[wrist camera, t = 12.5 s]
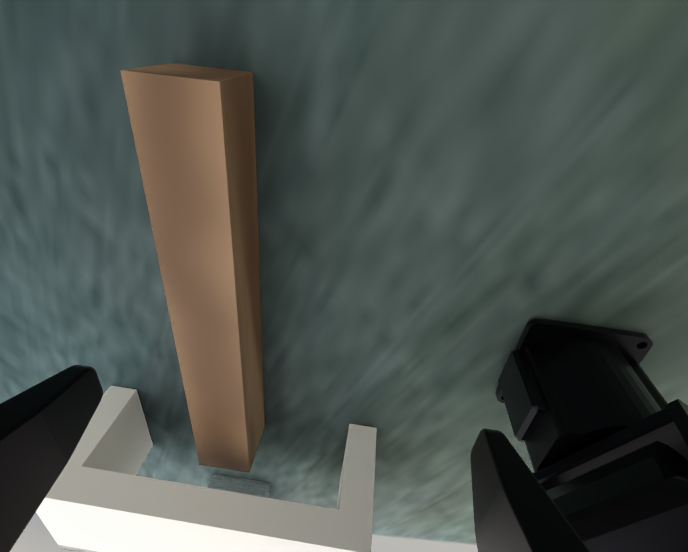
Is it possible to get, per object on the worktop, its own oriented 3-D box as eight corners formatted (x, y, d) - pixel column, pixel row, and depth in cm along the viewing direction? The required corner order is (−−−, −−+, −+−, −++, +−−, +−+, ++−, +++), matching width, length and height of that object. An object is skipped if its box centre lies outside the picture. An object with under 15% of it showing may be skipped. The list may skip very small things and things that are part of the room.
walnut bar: (255, 71, 16) (219, 82, 13) (266, 422, 29) (249, 472, 26) (175, 62, 17) (120, 70, 13) (221, 415, 30) (199, 464, 26)
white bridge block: (376, 427, 28) (370, 554, 21) (364, 480, 31) (356, 601, 25) (110, 385, 29) (23, 493, 22) (130, 441, 32) (60, 548, 26)
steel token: (270, 478, 34) (263, 501, 32) (271, 507, 36) (265, 530, 35) (215, 469, 34) (205, 492, 32) (219, 498, 37) (211, 521, 35)
